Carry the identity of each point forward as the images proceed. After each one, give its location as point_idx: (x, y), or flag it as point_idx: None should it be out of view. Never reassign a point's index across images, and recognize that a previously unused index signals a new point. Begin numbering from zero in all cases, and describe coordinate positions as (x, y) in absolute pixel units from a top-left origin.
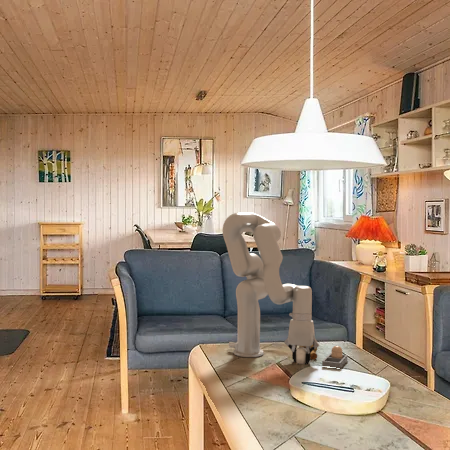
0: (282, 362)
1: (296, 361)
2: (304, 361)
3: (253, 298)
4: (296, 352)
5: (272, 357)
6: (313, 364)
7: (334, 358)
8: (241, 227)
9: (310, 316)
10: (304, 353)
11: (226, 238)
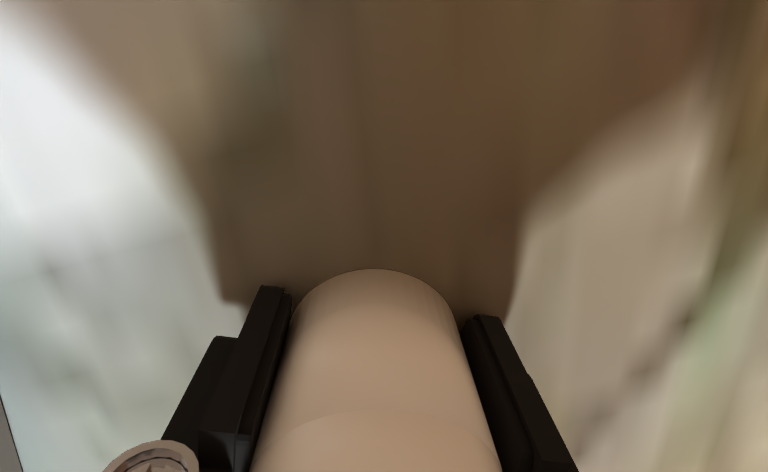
0: (668, 265)
1: (448, 314)
2: (308, 310)
3: None
4: (497, 462)
5: (752, 439)
6: (159, 284)
7: None
8: None
9: None
10: (284, 442)
11: None
